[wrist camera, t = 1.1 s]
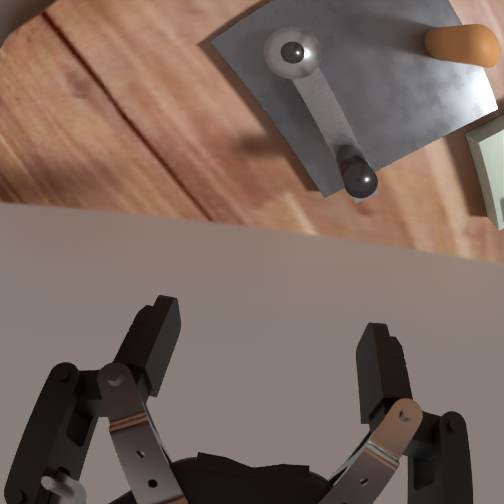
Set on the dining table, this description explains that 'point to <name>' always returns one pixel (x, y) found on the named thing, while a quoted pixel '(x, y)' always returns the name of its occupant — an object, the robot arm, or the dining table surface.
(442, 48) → the pin
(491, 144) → the tray
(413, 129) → the crank base
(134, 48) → the dining table surface
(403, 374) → the robot arm
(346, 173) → the crank
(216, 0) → the dining table surface
